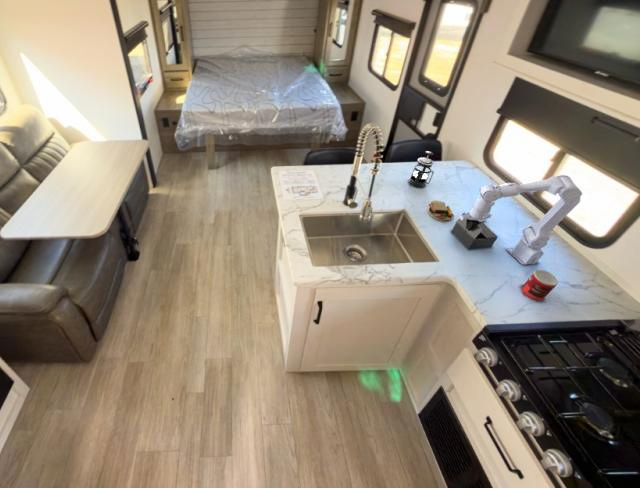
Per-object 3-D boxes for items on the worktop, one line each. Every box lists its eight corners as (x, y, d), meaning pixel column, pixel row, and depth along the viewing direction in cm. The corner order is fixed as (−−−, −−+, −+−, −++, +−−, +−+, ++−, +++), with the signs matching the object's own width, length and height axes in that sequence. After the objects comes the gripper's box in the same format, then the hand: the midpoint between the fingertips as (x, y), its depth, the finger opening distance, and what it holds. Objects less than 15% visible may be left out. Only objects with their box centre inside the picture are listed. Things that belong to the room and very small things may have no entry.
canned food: (533, 285, 141) (547, 269, 134) (548, 301, 134) (563, 284, 128) (516, 285, 140) (529, 269, 134) (530, 301, 134) (545, 285, 127)
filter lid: (483, 230, 150) (482, 229, 150) (474, 239, 154) (474, 239, 154) (464, 212, 161) (463, 212, 161) (456, 221, 164) (456, 221, 164)
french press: (405, 183, 204) (417, 152, 191) (411, 177, 210) (422, 146, 196) (424, 190, 198) (438, 159, 184) (429, 184, 203) (443, 153, 189)
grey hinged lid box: (491, 246, 159) (498, 236, 155) (468, 249, 158) (474, 239, 154) (473, 229, 170) (478, 219, 165) (451, 231, 168) (456, 221, 164)
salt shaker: (487, 223, 173) (499, 204, 166) (476, 221, 174) (487, 203, 167) (483, 216, 178) (494, 197, 170) (472, 214, 179) (482, 196, 171)
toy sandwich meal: (430, 220, 176) (433, 213, 173) (424, 205, 186) (427, 198, 183) (455, 223, 173) (458, 216, 171) (448, 207, 184) (451, 201, 181)
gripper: (472, 215, 145) (460, 236, 153) (501, 212, 146) (487, 233, 154) (461, 205, 150) (450, 226, 158) (489, 202, 152) (477, 223, 160)
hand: (468, 229), depth 156 cm, fingers closed
